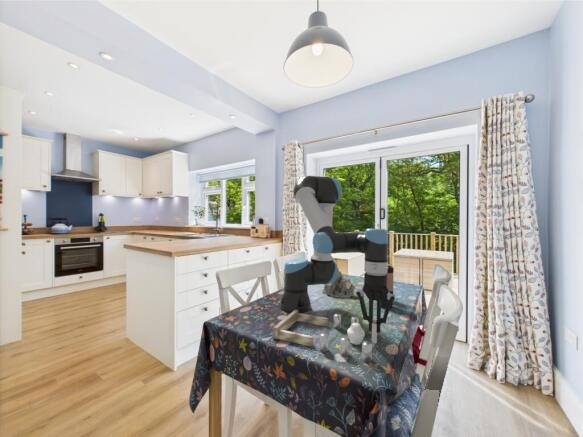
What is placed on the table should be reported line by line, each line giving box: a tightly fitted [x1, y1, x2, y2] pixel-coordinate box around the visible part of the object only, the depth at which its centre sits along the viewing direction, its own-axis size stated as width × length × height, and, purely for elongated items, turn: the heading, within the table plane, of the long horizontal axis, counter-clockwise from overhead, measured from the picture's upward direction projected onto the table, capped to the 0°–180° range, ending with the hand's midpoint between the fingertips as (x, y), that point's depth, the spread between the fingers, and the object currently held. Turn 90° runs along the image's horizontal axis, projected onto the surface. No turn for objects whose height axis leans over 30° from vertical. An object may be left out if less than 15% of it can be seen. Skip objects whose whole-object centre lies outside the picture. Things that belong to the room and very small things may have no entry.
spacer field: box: [318, 313, 377, 363], centre depth 91 cm, size 17×22×5 cm
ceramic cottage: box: [321, 268, 356, 298], centre depth 148 cm, size 16×16×15 cm
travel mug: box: [381, 265, 395, 309], centre depth 129 cm, size 8×8×20 cm
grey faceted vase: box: [346, 323, 366, 346], centre depth 90 cm, size 6×6×7 cm
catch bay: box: [273, 310, 329, 348], centre depth 99 cm, size 15×20×4 cm
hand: (374, 341), depth 88 cm, fingers closed
